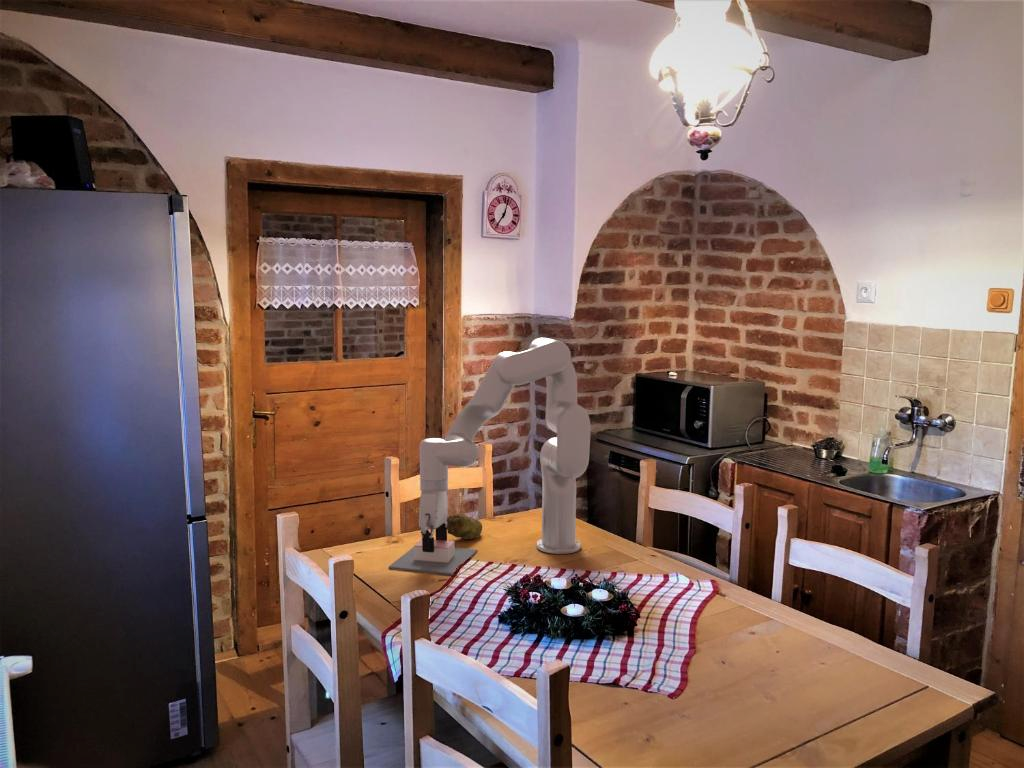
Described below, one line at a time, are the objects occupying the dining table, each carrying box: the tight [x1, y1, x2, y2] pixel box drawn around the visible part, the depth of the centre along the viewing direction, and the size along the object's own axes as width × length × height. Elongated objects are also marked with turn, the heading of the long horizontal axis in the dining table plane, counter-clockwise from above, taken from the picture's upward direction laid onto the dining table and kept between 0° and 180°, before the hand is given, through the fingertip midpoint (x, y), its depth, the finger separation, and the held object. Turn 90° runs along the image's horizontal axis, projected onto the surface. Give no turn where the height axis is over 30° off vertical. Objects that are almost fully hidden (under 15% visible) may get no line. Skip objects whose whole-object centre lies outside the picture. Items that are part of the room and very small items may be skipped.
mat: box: [388, 546, 478, 576], centre depth 224 cm, size 20×18×1 cm
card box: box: [413, 538, 456, 563], centre depth 224 cm, size 10×6×4 cm, turn 78°
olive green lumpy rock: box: [447, 513, 483, 540], centre depth 242 cm, size 8×13×8 cm, turn 122°
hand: (435, 546), depth 223 cm, fingers open, 9 cm apart
